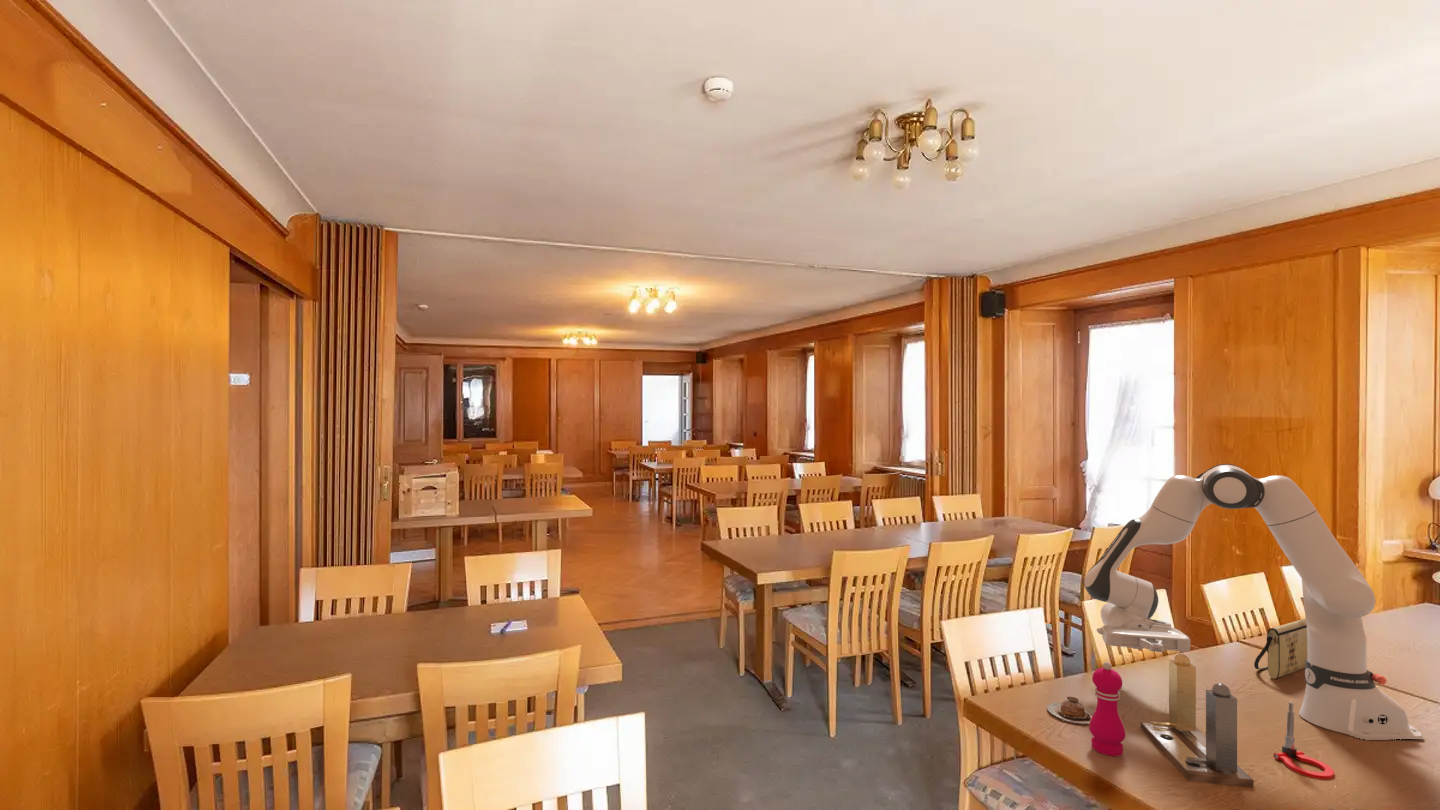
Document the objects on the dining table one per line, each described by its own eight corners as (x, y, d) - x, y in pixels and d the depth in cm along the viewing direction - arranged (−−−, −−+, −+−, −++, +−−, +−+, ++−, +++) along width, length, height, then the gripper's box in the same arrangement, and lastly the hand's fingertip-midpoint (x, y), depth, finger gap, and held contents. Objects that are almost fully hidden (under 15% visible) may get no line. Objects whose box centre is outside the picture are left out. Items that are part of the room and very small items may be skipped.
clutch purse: (1295, 657, 214) (1295, 610, 214) (1323, 664, 208) (1323, 616, 208) (1247, 674, 200) (1247, 623, 200) (1275, 682, 194) (1275, 630, 194)
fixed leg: (1226, 762, 146) (1226, 680, 146) (1237, 772, 142) (1237, 688, 142) (1183, 758, 147) (1182, 677, 147) (1192, 768, 143) (1192, 685, 143)
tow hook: (1344, 779, 143) (1301, 755, 152) (1347, 720, 143) (1304, 699, 152) (1310, 782, 142) (1269, 758, 151) (1312, 722, 142) (1271, 701, 151)
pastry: (1047, 703, 180) (1047, 685, 180) (1098, 712, 175) (1098, 694, 175) (1047, 721, 170) (1047, 703, 170) (1102, 731, 164) (1102, 712, 164)
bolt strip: (1181, 727, 163) (1181, 725, 163) (1233, 775, 141) (1233, 773, 141) (1141, 723, 164) (1141, 722, 164) (1186, 771, 143) (1186, 769, 143)
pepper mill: (1130, 759, 150) (1130, 669, 151) (1095, 755, 152) (1095, 666, 152) (1118, 743, 157) (1118, 657, 158) (1084, 740, 159) (1084, 655, 159)
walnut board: (1194, 732, 163) (1194, 726, 163) (1253, 787, 139) (1253, 779, 139) (1140, 728, 165) (1140, 722, 165) (1189, 780, 142) (1189, 773, 142)
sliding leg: (1187, 724, 162) (1187, 652, 163) (1195, 732, 158) (1195, 657, 159) (1148, 721, 164) (1148, 649, 164) (1156, 728, 160) (1156, 655, 160)
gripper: (1094, 616, 189) (1113, 633, 175) (1175, 622, 185) (1201, 640, 171) (1093, 639, 189) (1113, 657, 175) (1174, 645, 185) (1200, 664, 171)
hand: (1157, 648), depth 173 cm, fingers closed
